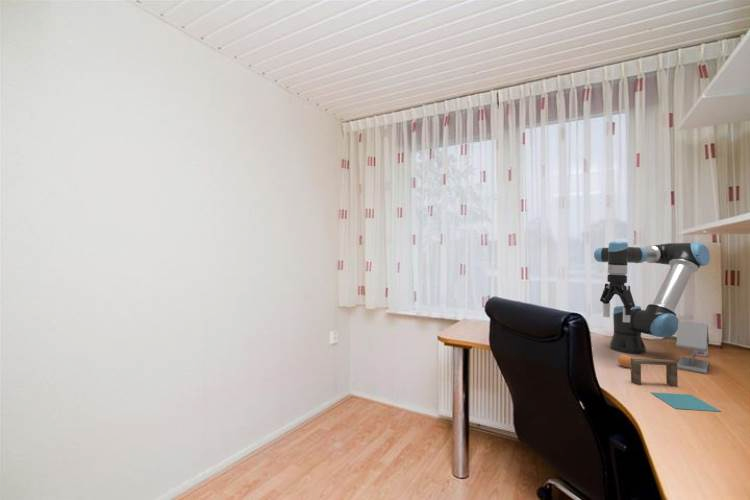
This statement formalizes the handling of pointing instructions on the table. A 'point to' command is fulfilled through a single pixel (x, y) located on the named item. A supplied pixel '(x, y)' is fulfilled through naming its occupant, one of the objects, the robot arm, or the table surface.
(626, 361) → the ball
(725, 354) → the table surface
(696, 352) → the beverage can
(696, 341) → the folded metal stand
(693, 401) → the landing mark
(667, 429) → the table surface
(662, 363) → the bridge
